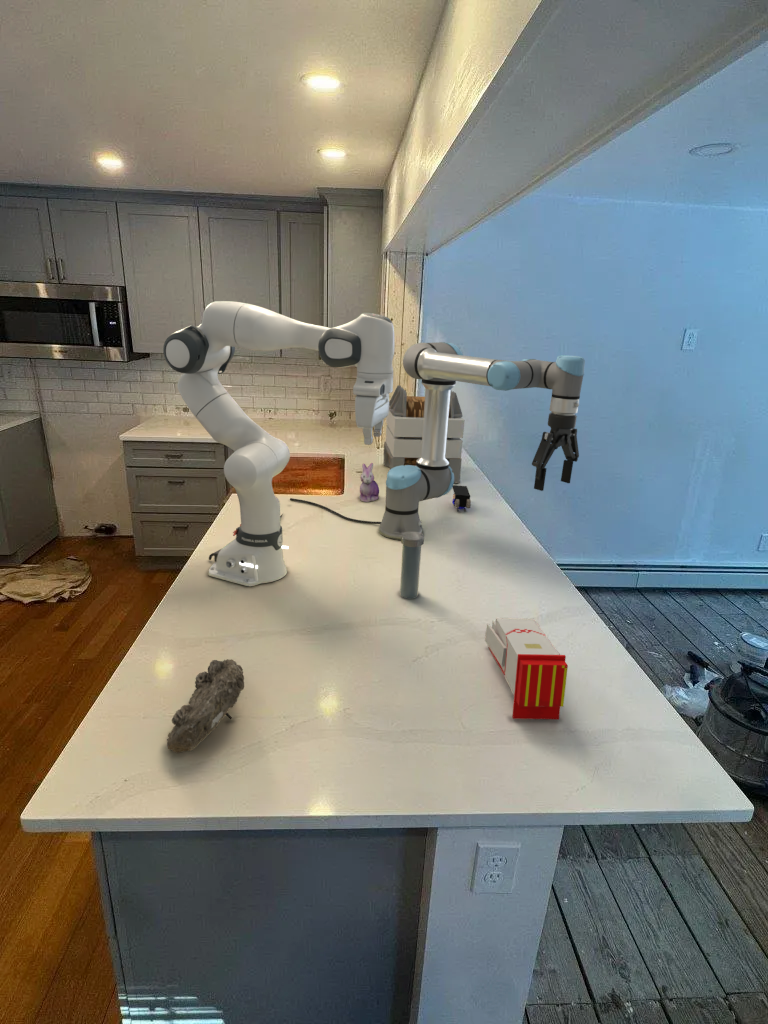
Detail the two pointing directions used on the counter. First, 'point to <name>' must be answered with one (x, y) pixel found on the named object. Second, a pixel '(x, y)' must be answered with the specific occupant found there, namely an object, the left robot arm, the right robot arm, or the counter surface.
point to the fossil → (206, 705)
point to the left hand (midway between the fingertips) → (372, 440)
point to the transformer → (419, 431)
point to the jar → (410, 571)
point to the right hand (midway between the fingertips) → (552, 485)
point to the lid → (412, 539)
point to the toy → (529, 667)
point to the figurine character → (461, 497)
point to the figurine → (368, 485)
